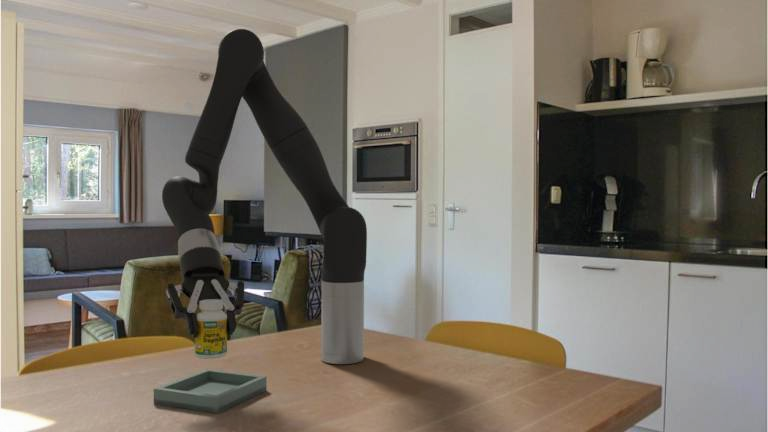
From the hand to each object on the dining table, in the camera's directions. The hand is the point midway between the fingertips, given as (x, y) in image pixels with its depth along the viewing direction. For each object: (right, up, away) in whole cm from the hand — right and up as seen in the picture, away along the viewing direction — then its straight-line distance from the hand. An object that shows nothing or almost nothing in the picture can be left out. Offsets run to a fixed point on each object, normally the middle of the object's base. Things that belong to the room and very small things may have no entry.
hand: (213, 333), depth 106 cm
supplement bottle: (-1, -4, +2) cm, 5 cm away
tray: (-1, -11, +2) cm, 11 cm away
